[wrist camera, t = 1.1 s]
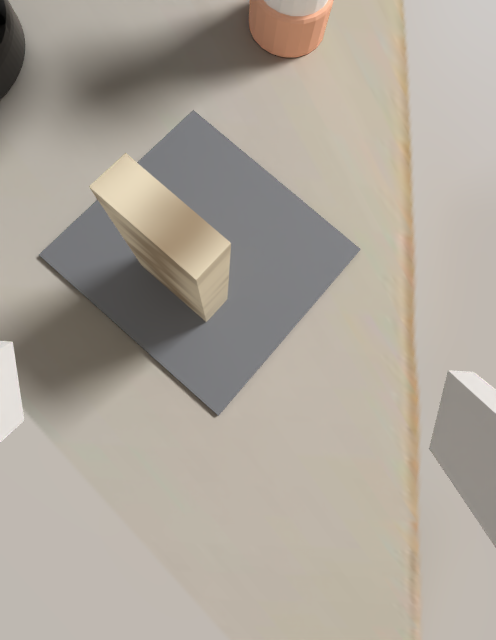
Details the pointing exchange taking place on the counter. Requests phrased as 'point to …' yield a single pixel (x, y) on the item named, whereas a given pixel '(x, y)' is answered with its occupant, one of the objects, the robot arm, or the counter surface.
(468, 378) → the robot arm
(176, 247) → the birch block
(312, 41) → the salt shaker
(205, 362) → the mat
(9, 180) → the counter surface
